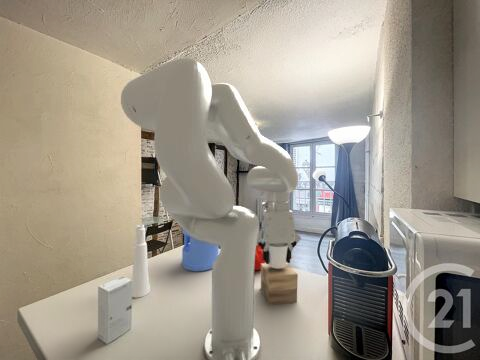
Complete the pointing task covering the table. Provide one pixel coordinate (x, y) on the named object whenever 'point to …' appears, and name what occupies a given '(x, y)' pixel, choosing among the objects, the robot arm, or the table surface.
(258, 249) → the tomato
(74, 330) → the table surface
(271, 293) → the tower base block
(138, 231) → the cosmetic bottle
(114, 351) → the table surface
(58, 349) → the table surface
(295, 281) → the tower top block
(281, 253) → the white cup
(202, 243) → the water jug
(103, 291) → the skincare box
